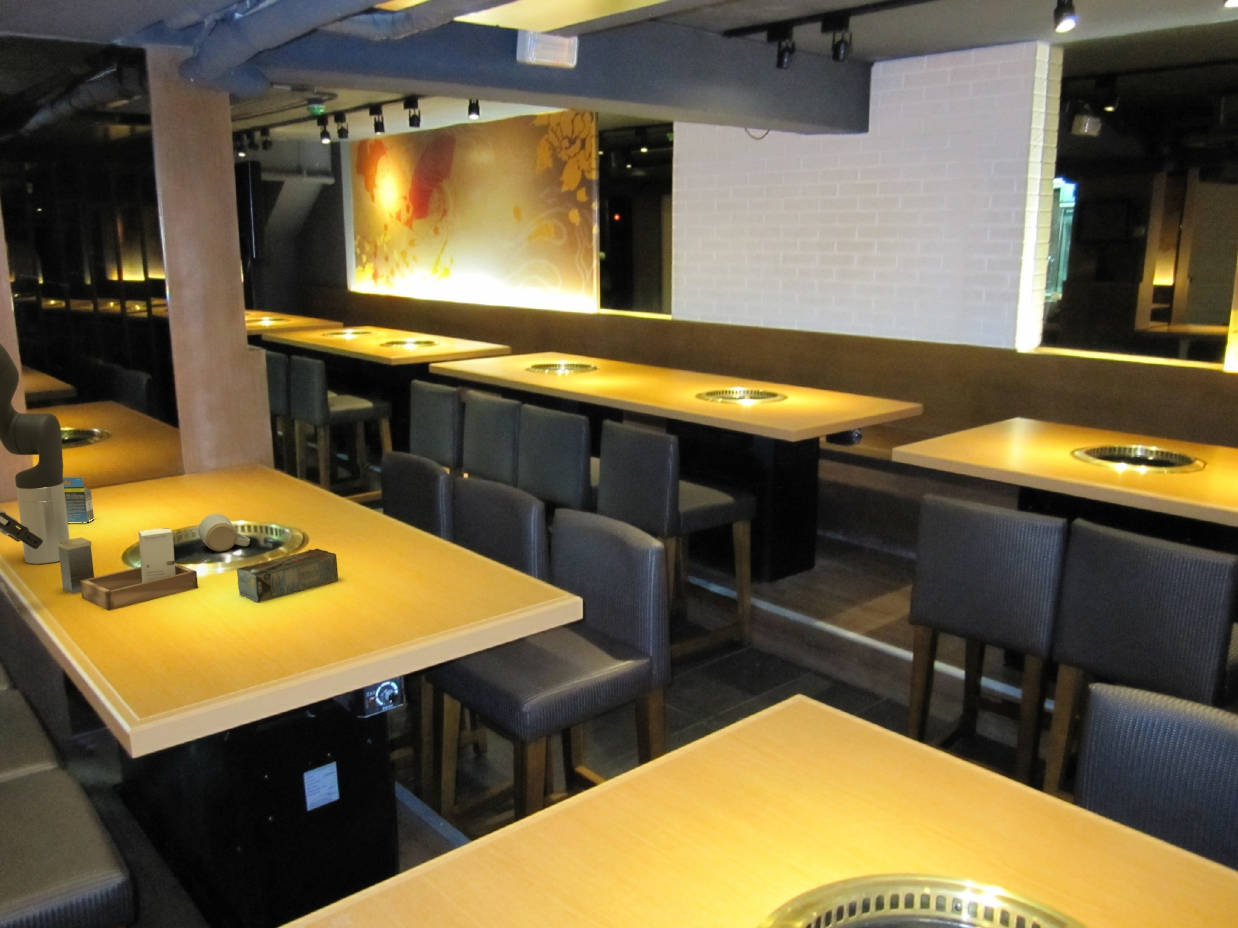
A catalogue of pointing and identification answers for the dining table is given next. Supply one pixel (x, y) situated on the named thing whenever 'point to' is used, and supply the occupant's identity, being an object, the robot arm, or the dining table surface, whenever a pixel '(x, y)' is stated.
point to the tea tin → (75, 563)
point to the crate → (135, 587)
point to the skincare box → (156, 554)
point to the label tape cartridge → (78, 500)
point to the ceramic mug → (220, 533)
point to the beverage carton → (287, 575)
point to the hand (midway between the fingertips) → (30, 541)
